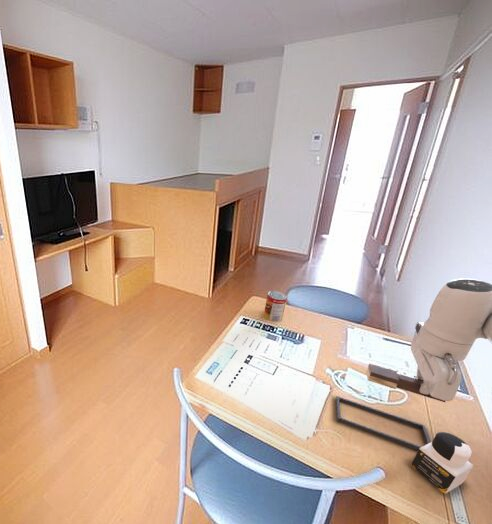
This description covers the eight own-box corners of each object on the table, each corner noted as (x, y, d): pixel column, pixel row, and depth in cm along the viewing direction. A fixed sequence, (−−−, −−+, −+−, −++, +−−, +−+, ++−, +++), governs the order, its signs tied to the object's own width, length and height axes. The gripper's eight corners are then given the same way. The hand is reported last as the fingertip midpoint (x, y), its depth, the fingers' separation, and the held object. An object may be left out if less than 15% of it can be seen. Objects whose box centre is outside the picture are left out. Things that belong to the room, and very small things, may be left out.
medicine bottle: (409, 467, 76) (426, 433, 71) (426, 457, 78) (445, 424, 74) (443, 496, 70) (465, 461, 65) (461, 484, 72) (484, 450, 68)
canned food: (276, 313, 142) (281, 290, 137) (285, 322, 135) (290, 299, 130) (260, 313, 142) (264, 290, 137) (268, 323, 134) (272, 299, 130)
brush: (441, 394, 78) (445, 385, 76) (446, 405, 74) (451, 396, 73) (366, 371, 85) (369, 363, 83) (367, 381, 81) (371, 372, 80)
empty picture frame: (421, 430, 86) (424, 425, 85) (431, 458, 78) (434, 452, 78) (335, 400, 95) (336, 395, 94) (336, 423, 88) (338, 417, 87)
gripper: (479, 375, 62) (451, 423, 68) (445, 325, 79) (425, 367, 84) (439, 365, 65) (415, 412, 70) (415, 318, 82) (397, 359, 87)
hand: (421, 387), depth 77 cm, fingers closed on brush, 2 cm apart
